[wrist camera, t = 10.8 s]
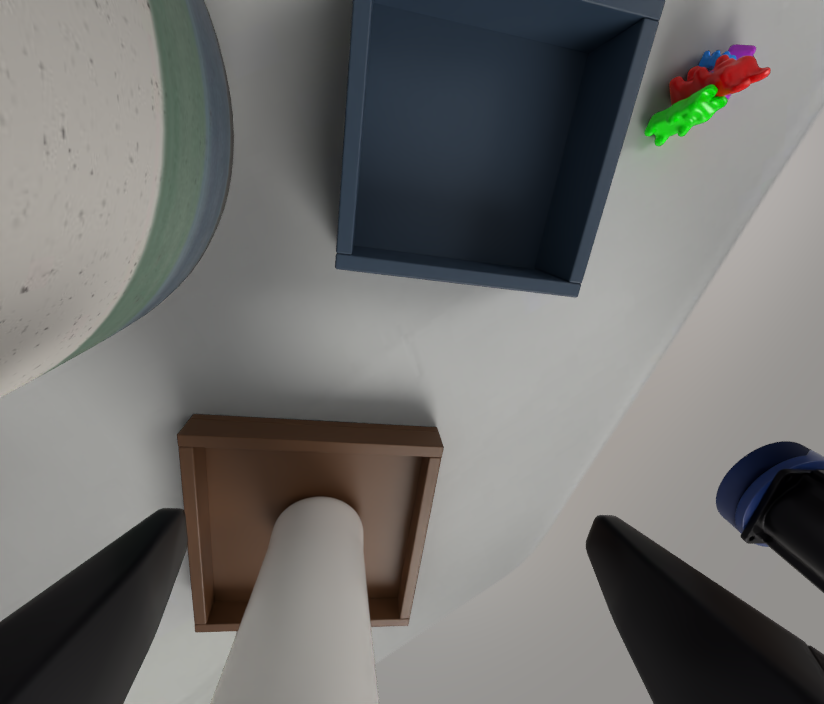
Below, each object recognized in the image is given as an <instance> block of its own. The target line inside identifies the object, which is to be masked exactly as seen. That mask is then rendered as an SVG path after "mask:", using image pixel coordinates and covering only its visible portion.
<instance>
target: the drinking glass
mask: <svg viewBox="0 0 824 704" xmlns="http://www.w3.org/2000/svg"><path fill="white" fill-rule="evenodd" d="M210 704H379V695H378V686H377V677H376V669H375V658H374V649H373V640H372V630H371V621H370V611H369V602H368V592H367V582H366V572H365V562H364V534H363V525H362V522H361V519H360V517H359V515H358V514H357V512H356V511H355V510H354V509H353V508H352V507H351V506H350V505H348V504H347V503H345V502H343V501H341V500H338V499H335V498H331V497H324V496H317V497H309V498H305V499H302V500H299V501H297V502H295V503H293V504H292V505H290V506H289V507H287V508H286V509H285V510H284V511H283V512H282V513H281V514H280V516H279V517H278V519H277V520H276V522H275V524H274V527H273V530H272V534H271V537H270V541H269V545H268V548H267V552H266V555H265V557H264V560H263V563H262V566H261V569H260V571H259V574H258V577H257V579H256V582H255V585H254V588H253V590H252V593H251V596H250V599H249V601H248V604H247V607H246V609H245V612H244V615H243V617H242V620H241V623H240V625H239V628H238V631H237V634H236V636H235V639H234V642H233V644H232V647H231V650H230V652H229V655H228V658H227V660H226V663H225V666H224V668H223V671H222V674H221V676H220V679H219V682H218V684H217V687H216V690H215V692H214V695H213V698H212V700H211V703H210Z"/></svg>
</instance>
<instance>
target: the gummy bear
mask: <svg viewBox="0 0 824 704" xmlns="http://www.w3.org/2000/svg"><path fill="white" fill-rule="evenodd" d="M755 51H756V47H755V46H752V45H737V44H736V45H732V46H731V47H730V48H729V50H728V51H726V52H725V53H723V54H722V55H720V50H717V51H716V52H714V53H713V54H712V55H711V56H710V51H705V52H704V54H703V56H702V58H701V60H700V63H699V65H698V66H695V67H693V68H691V69H690V70H689V72H688V74H687V81H684V80H683V78H682V77H680V76H678V77H675V78H673V79H672V80H671V81H670V83H669V90H670V98H671V105H672V106H670V107H669V108H667V109H665V110H663V111H660V112H657V113H655V114H654V115H653V116H652V117H651V119H650V121H649V123H648V125H647V127H646V129H645V131H644V134H645V136H651V135H653V134H654V135H655V145H656V146H661V145H663V144H664V142H665V141H666V140H667V139H668V138H669V137H670V136H672V135H674V134H677V133H678V136H680V137H683V136H685V135H686V134H687V132H688V131H689V130H690V129H691V127H693V126H695V125H698V124H701V123H704V122H706V121H708V120H709V119H710V118H711V117H712V116H713V114H714V113H715V112H716V111H717V110H719V109H721V108H722V107H724V106H725V105H726V104H727V102H728V100H727V99H729V98H730V96H731V94H733V93H737V92H740V91H742V90H744V89H746V88H747V87H748V86H749V85H750V84H752V83H754V82H757V81H760V80H762V79H764V78H766V77H767V76H768V75H769V74H770V68H769V67H766V68H760V67H759V66H758V64H757V61H756V59H755V58H754V55H753V54H754V53H755ZM707 69H713V70H710V71H708V70H707Z"/></svg>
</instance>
